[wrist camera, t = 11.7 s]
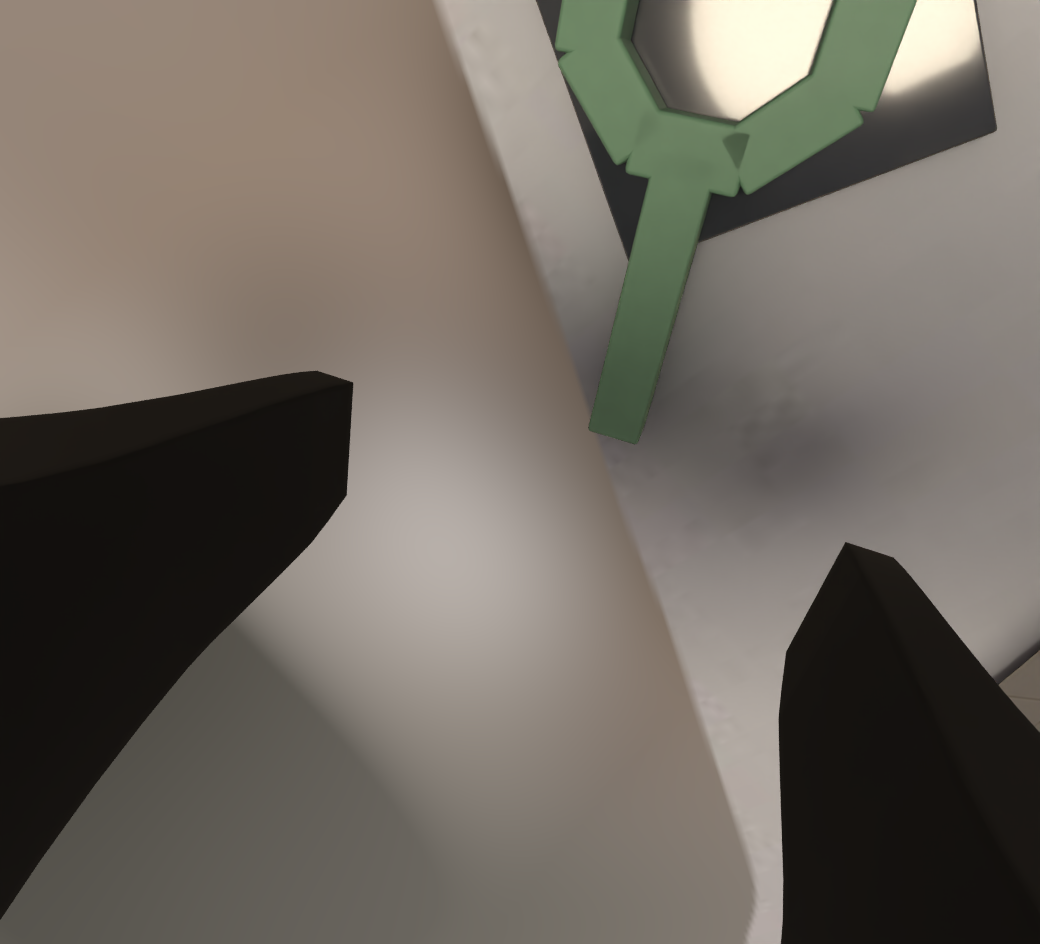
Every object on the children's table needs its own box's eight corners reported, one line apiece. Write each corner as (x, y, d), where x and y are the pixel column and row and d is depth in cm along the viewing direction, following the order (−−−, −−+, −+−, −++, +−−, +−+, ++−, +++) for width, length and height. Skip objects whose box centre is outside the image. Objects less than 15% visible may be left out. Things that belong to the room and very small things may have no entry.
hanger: (615, -218, 12) (600, -244, 11) (974, -174, 11) (993, -199, 10) (511, 386, 18) (495, 404, 17) (738, 451, 17) (735, 475, 16)
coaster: (993, 129, 13) (998, 131, 13) (633, 264, 16) (630, 268, 16) (914, -345, 11) (918, -359, 10) (512, -81, 14) (505, -85, 13)
